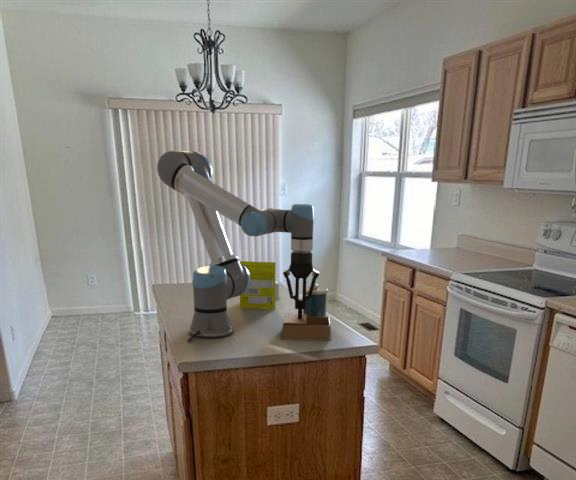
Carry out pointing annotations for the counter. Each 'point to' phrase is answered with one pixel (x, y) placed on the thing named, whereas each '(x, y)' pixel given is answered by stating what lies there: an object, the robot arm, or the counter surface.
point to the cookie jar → (316, 302)
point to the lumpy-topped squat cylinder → (276, 290)
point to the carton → (308, 329)
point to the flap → (294, 319)
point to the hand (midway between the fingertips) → (299, 317)
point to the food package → (259, 286)
